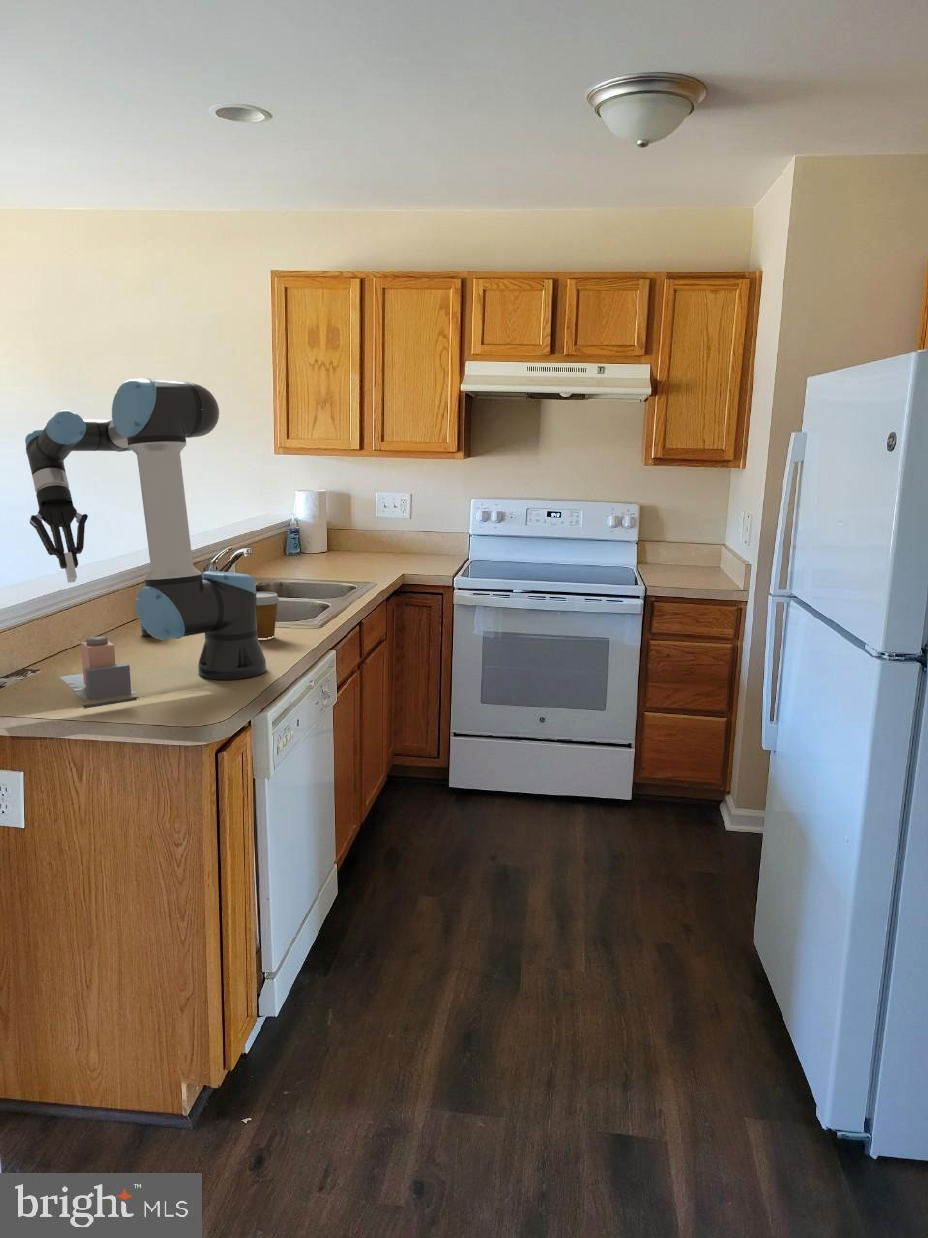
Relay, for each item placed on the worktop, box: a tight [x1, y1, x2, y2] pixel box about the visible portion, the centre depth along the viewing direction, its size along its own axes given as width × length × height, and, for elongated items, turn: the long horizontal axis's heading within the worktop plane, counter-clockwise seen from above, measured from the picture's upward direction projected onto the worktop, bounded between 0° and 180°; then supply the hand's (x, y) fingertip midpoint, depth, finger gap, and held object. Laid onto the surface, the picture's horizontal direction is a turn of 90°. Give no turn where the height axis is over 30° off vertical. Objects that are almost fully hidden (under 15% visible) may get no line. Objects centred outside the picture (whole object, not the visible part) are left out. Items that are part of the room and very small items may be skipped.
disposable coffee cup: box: [256, 591, 280, 638], centre depth 231 cm, size 10×10×12 cm
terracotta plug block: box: [80, 636, 116, 686], centre depth 178 cm, size 6×5×10 cm
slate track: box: [59, 662, 138, 709], centre depth 181 cm, size 22×10×8 cm, turn 37°
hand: (72, 579), depth 201 cm, fingers closed
